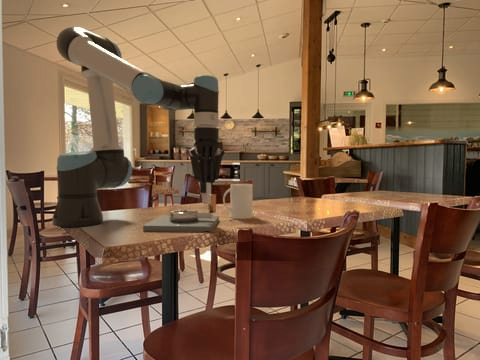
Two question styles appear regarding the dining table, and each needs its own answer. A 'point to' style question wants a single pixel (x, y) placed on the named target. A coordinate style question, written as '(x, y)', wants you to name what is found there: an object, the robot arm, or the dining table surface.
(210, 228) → the panel
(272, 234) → the dining table surface
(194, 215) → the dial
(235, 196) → the mug
